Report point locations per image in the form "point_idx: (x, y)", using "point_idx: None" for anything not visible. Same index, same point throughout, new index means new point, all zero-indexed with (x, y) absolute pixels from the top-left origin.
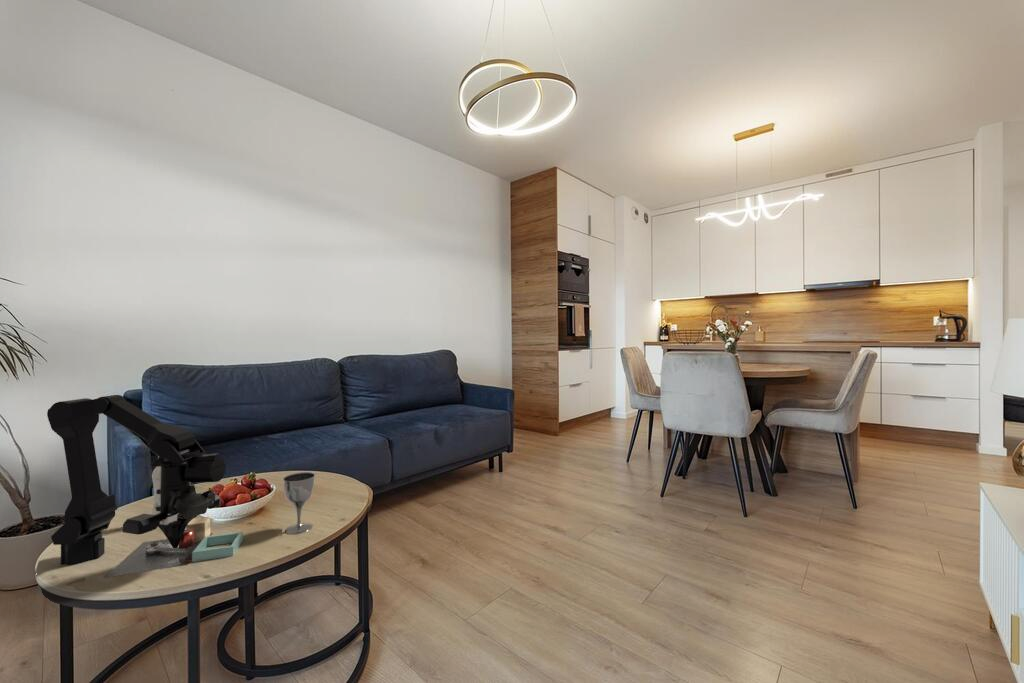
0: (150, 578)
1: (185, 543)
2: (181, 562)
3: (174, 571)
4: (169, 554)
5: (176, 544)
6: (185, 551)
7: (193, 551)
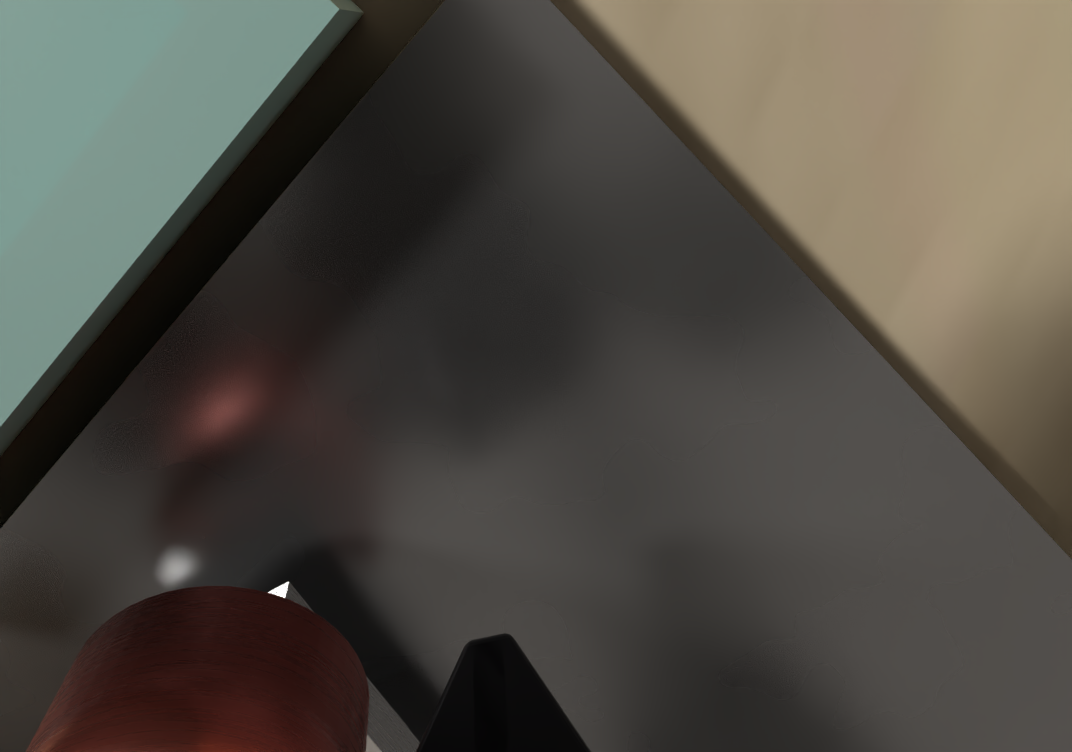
0: (979, 202)
1: (264, 685)
2: (506, 209)
3: (676, 72)
4: None
5: (511, 693)
6: None
7: (281, 58)
